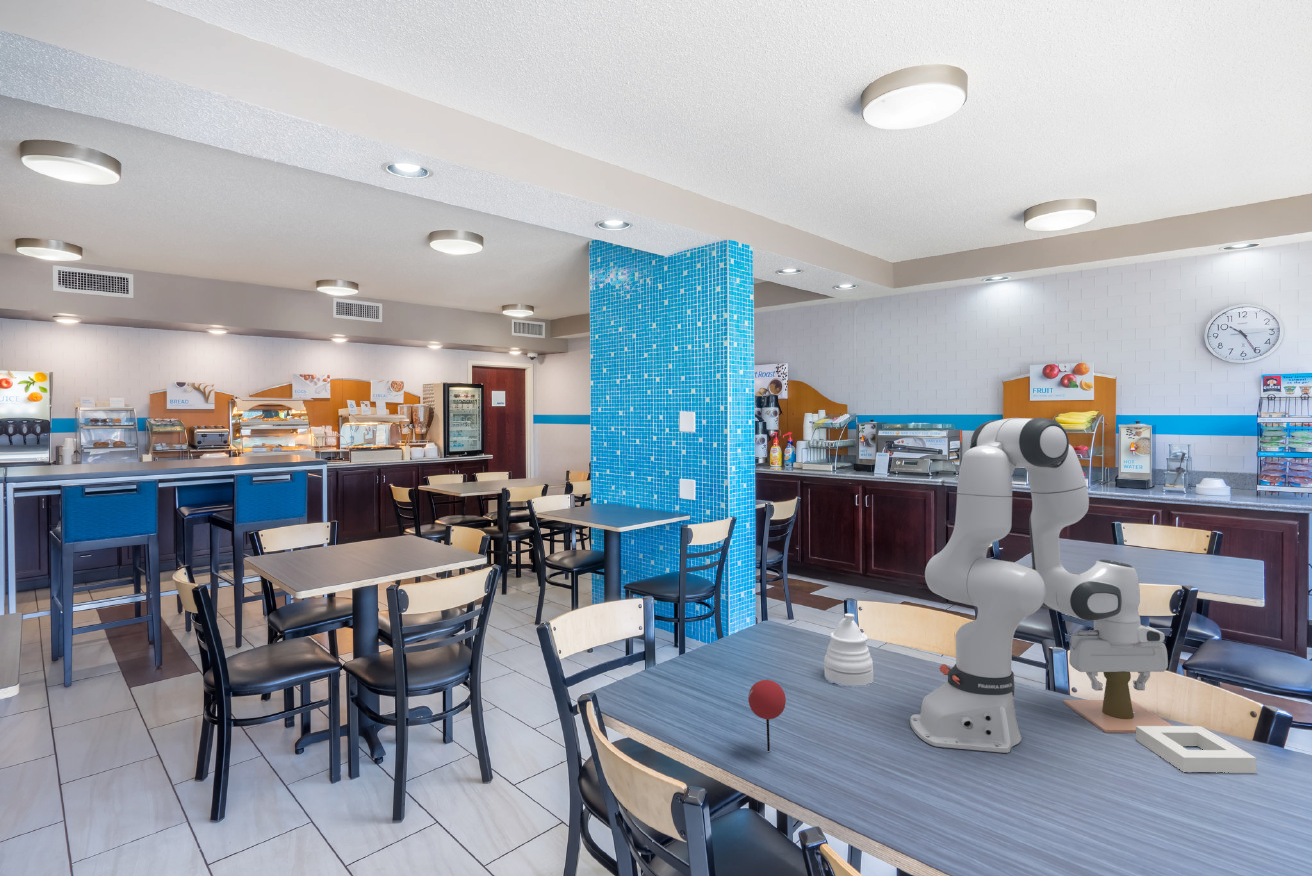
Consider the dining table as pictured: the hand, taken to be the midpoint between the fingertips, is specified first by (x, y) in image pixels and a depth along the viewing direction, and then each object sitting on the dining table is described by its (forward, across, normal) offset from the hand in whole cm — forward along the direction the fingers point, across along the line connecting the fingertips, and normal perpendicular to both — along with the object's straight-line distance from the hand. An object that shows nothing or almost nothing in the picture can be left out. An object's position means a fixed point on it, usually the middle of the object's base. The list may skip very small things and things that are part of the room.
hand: (1118, 689), depth 148 cm
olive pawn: (+6, 0, 0) cm, 6 cm away
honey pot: (+6, -56, +24) cm, 61 cm away
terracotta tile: (+6, 0, 0) cm, 6 cm away
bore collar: (+6, +3, -18) cm, 19 cm away
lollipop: (+6, -83, -17) cm, 85 cm away
